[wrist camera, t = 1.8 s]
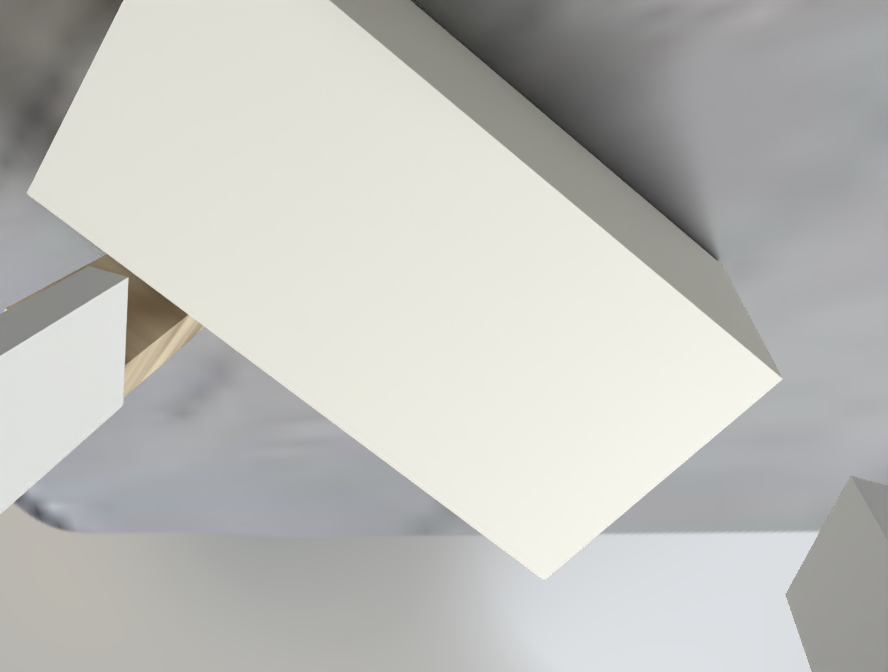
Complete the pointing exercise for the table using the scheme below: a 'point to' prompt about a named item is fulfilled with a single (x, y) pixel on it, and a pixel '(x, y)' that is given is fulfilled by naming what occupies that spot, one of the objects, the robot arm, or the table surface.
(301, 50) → the cabinet
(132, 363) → the hook
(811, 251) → the table surface
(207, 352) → the table surface
